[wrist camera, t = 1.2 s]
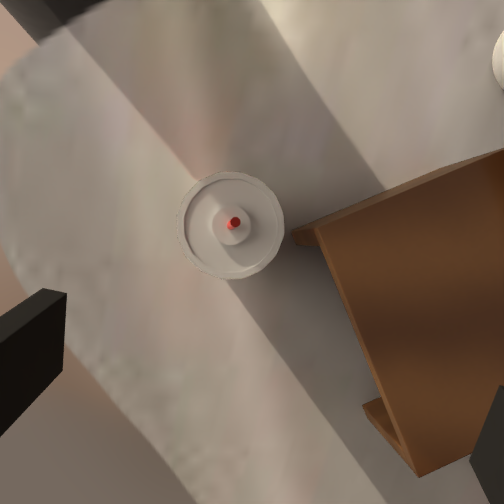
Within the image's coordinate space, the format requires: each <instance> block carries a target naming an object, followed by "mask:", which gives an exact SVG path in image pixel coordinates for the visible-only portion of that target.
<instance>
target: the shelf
mask: <svg viewBox="0 0 504 504" xmlns="http://www.w3.org/2000/svg"><path fill="white" fill-rule="evenodd" d="M291 233H292V236H293V238H294V241H295V243H296V245H307V246H320V247H321V250H322V252H323V255H324V257H325V260H326V262H327V264H328V267H329V269H330V272H331V274H332V277H333V279H334V282H335V284H336V287H337V289H338V291H339V294H340V296H341V299H342V301H343V304H344V306H345V309H346V311H347V314H348V316H349V319H350V321H351V323H352V326H353V328H354V331H355V333H356V336H357V338H358V341H359V343H360V346H361V348H362V350H363V353H364V355H365V358H366V360H367V363H368V365H369V368H370V370H371V373H372V375H373V378H374V380H375V382H376V385H377V387H378V390H379V392H380V395H381V397H379V398H377V399H375V400H373V401H370V402H368V403H366V404H364V405H362V406H363V409H364V411H365V414H366V416H367V418H368V419H369V421H370V422H371V423H372V424H373V425H374V426H375V428H376V429H377V430H378V431H379V432H380V433H381V434H382V436H383V437H384V438H385V439H386V440H387V441H388V443H389V444H390V445H391V446H392V447H393V448H394V449H395V451H396V452H397V453H398V454H399V455H400V456H401V458H402V459H403V460H404V461H405V462H406V463H407V464H408V466H409V467H410V468H411V469H412V470H413V472H414V473H415V474H416V475H417V476H418V477H419V478H420V477H422V476H424V475H426V474H429V473H431V472H433V471H435V470H437V469H439V468H441V467H443V466H446V465H448V464H450V463H452V462H454V461H456V460H458V459H460V458H463V457H465V456H467V455H469V454H471V453H472V452H473V450H474V447H475V445H476V442H477V440H478V437H479V435H480V432H481V430H482V427H483V425H484V422H485V420H486V417H487V415H488V412H489V410H490V407H491V405H492V402H493V400H494V397H495V395H496V392H497V390H498V387H499V385H502V386H504V148H502V149H499V150H496V151H492V152H489V153H486V154H483V155H480V156H477V157H473V158H470V159H467V160H464V161H461V162H458V163H455V164H451V165H448V166H445V167H442V168H439V169H437V170H435V171H432V172H430V173H427V174H425V175H423V176H420V177H418V178H415V179H413V180H411V181H408V182H406V183H404V184H401V185H399V186H396V187H394V188H392V189H389V190H387V191H385V192H382V193H380V194H377V195H375V196H373V197H370V198H368V199H366V200H363V201H361V202H358V203H356V204H354V205H351V206H349V207H346V208H344V209H342V210H339V211H337V212H335V213H332V214H330V215H327V216H325V217H323V218H320V219H318V220H316V221H313V222H311V223H308V224H306V225H304V226H301V227H299V228H297V229H294V230H292V231H291Z"/></svg>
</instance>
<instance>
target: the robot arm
mask: <svg viewBox="0 0 504 504" xmlns="http://www.w3.org/2000/svg"><path fill="white" fill-rule="evenodd" d="M66 301H67V293H63V292H59V291H54V290H49V289H45V288H42V289H41V290H39V291H38V292H36V293H35V294H33V295H32V296H30V297H29V298H27V299H26V300H24V301H23V302H21V303H20V304H18V305H17V306H15V307H14V308H12V309H11V310H9V311H8V312H6V313H5V314H3V315H2V316H0V437H1V436H2V435H3V434H4V432H5V431H6V430H7V429H8V428H9V427H10V426H11V425H12V424H13V423H14V422H15V421H16V420H17V418H18V417H20V415H21V414H22V413H23V412H24V411H25V410H26V409H27V408H28V407H29V406H30V405H31V404H32V403H33V402H34V401H35V399H36V398H37V397H38V396H39V395H40V394H41V393H42V392H43V391H44V390H45V389H46V388H47V387H48V386H49V385H50V384H51V382H52V381H53V380H54V379H55V378H56V377H57V376H58V375H59V374H60V373H61V372H62V370H63V369H62V368H63V352H64V336H65V318H66ZM469 462H470V464H471V466H472V468H473V470H474V472H475V474H476V476H477V478H478V480H479V482H480V484H481V486H482V488H483V491H484V493H485V495H486V497H487V499H488V501H489V503H490V504H504V386H502V385H499V387H498V390H497V392H496V395H495V397H494V400H493V402H492V405H491V407H490V410H489V412H488V415H487V417H486V420H485V422H484V425H483V427H482V430H481V432H480V435H479V437H478V440H477V442H476V445H475V447H474V450H473V452H472V455H471V457H470V459H469Z"/></svg>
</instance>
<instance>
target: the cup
mask: <svg viewBox="0 0 504 504" xmlns="http://www.w3.org/2000/svg"><path fill="white" fill-rule="evenodd" d="M492 65H493V71H494V75H495V78H496V80H497V82H498V84H499V85H500V87H501V88H502V89H503V90H504V31H503V32H502V34H501V35H500V37H499V39H498V41H497V43H496V45H495V48H494V52H493V58H492Z"/></svg>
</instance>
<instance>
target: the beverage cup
mask: <svg viewBox="0 0 504 504" xmlns="http://www.w3.org/2000/svg"><path fill="white" fill-rule="evenodd" d="M283 237H284V214H283V211H282V209H281V207H280V204H279V202H278V200H277V197H276V195H275V194H274V193H273V192H272V191H271V190H270V189H269V188H268V187H267V186H266V185H265V184H264V183H263V182H262V181H261V180H259V179H257V178H255V177H252V176H250V175H247V174H245V173H242V172H218V173H215V174H213V175H211V176H208V177H206V178H204V179H201V180H199V181H198V182H197V183H196V184H195V185H194V186H193V187H192V188H191V190H190V191H189V192H188V193H187V194H186V195H185V196H184V198H183V201H182V203H181V206H180V208H179V211H178V214H177V238H178V240H179V243H180V245H181V247H182V249H183V252H184V254H185V256H186V258H188V259H189V260H190V261H191V262H192V263H193V264H194V265H195V266H196V267H197V268H198V269H199V270H200V271H201V272H204V273H206V274H209V275H211V276H214V277H217V278H219V279H243V278H245V277H248V276H250V275H252V274H254V273H257V272H259V271H261V270H263V269H264V267H265V266H266V265H267V264H268V263H269V262H270V261H271V260H272V259H273V258H274V257H275V256H276V255H277V252H278V250H279V247H280V245H281V242H282V239H283Z"/></svg>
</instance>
